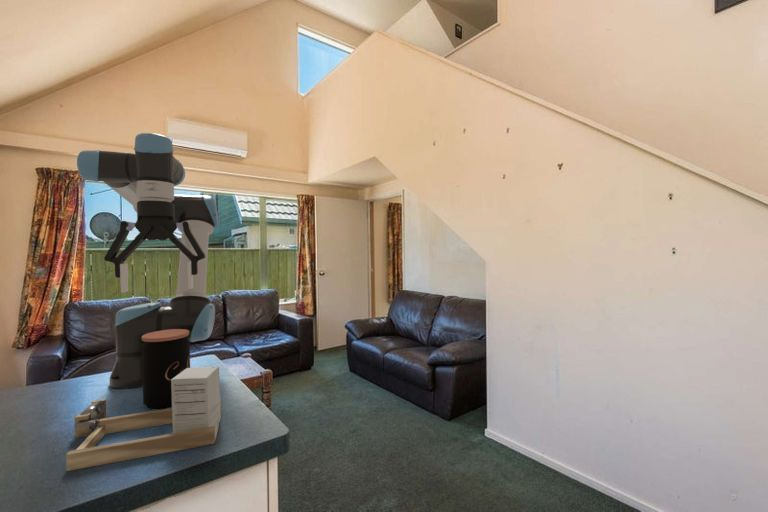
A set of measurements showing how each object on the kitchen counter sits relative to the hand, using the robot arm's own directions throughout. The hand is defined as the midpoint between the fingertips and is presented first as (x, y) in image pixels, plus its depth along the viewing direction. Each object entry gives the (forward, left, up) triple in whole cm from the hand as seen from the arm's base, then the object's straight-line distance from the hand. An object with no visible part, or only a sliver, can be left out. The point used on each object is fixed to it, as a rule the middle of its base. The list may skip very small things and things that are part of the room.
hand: (158, 290), depth 83 cm
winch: (+2, -13, -30) cm, 33 cm away
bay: (+12, +1, -30) cm, 32 cm away
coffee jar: (-8, -1, -30) cm, 31 cm away
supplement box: (+12, +9, -30) cm, 34 cm away
